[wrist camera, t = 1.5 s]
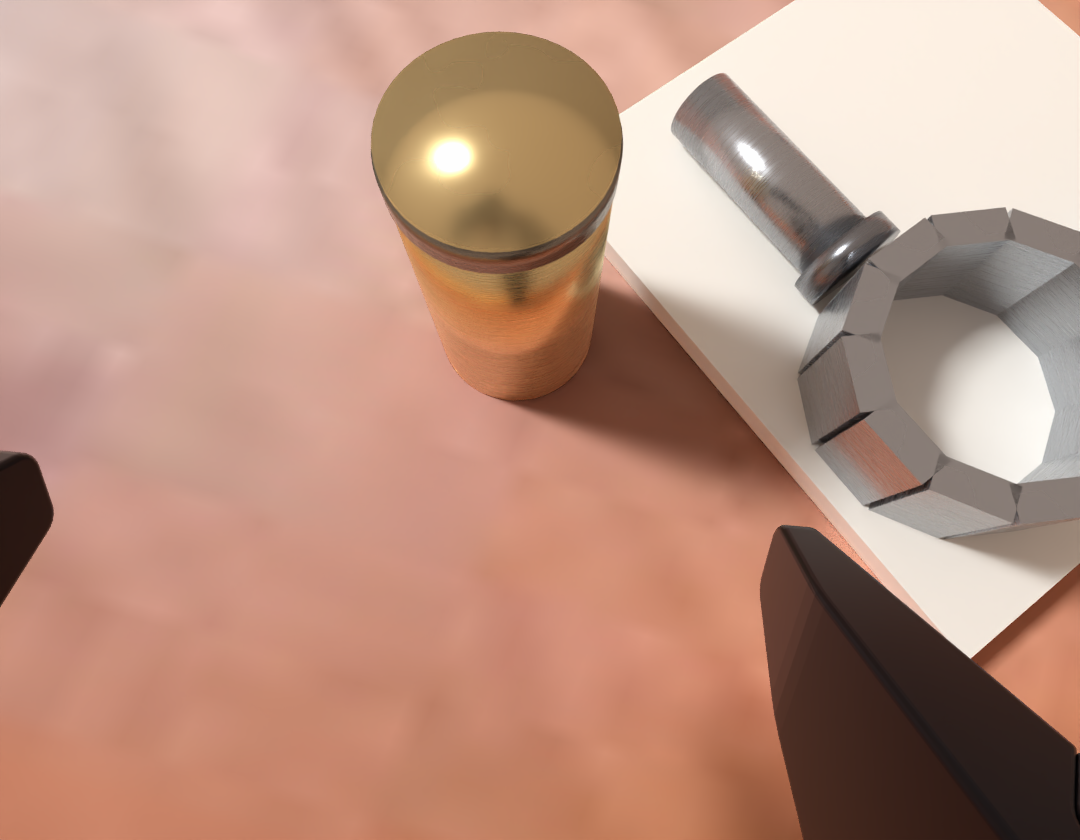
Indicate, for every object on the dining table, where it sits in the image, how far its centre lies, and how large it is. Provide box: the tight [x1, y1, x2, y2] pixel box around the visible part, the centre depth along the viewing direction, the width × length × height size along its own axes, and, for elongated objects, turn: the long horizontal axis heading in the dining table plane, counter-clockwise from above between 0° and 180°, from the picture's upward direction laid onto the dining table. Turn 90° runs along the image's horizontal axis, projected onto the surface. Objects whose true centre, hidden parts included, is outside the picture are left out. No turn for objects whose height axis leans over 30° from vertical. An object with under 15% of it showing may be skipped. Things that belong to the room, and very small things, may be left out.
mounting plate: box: [604, 0, 1080, 659], centre depth 24 cm, size 20×18×1 cm
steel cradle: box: [671, 73, 1080, 539], centre depth 22 cm, size 16×16×4 cm
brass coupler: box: [371, 32, 623, 400], centre depth 19 cm, size 5×5×10 cm
